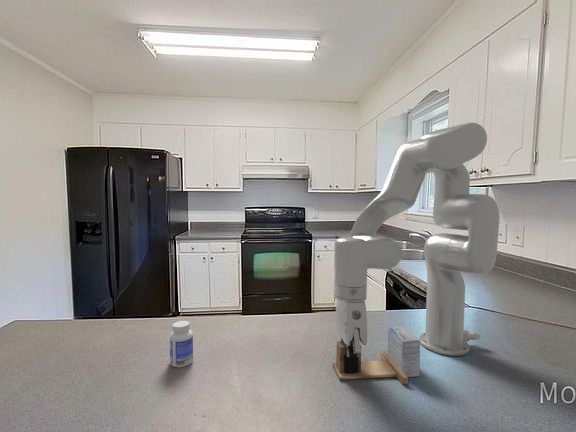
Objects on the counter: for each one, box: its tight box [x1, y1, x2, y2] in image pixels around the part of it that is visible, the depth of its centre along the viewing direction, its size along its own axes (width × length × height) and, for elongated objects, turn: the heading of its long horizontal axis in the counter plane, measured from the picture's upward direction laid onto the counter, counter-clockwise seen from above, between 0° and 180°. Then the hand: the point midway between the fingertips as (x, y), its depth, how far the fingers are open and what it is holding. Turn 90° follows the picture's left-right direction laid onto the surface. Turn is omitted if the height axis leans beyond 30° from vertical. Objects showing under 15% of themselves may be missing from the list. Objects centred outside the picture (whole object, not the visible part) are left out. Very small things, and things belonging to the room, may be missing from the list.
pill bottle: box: [169, 320, 194, 368], centre depth 75 cm, size 5×5×10 cm
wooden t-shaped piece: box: [332, 340, 409, 385], centre depth 72 cm, size 15×12×7 cm
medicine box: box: [387, 326, 421, 378], centre depth 74 cm, size 8×4×9 cm, turn 6°
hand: (348, 367), depth 72 cm, fingers closed on wooden t-shaped piece, 3 cm apart
